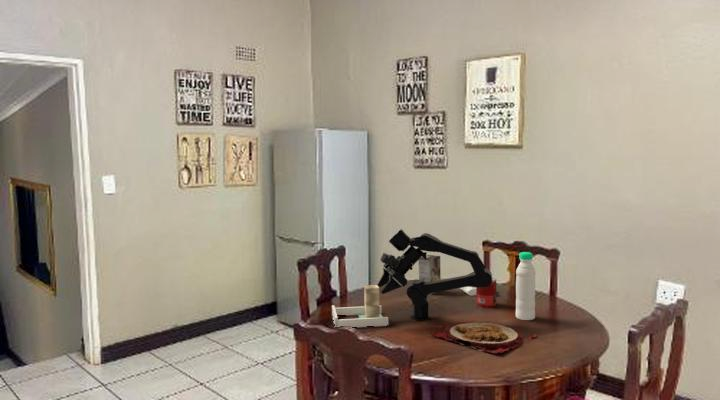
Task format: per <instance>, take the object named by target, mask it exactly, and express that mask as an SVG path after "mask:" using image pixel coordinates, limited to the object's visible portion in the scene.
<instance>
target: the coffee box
mask: <svg viewBox="0 0 720 400" xmlns="http://www.w3.org/2000/svg"><path fill="white" fill-rule="evenodd" d="M426 258H427V259H424V258H423V257H421V258H420V259H419V260H418V280H420V279H422V278H425V281H426V282H433V281H438V280H442V279H441V277H442V276H441V255H435V254H434V255H433V254H426ZM435 293H437V292H435ZM435 293H431V294H429V296H430V295H434V294H435Z"/></svg>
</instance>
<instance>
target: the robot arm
mask: <svg viewBox="0 0 720 400" xmlns="http://www.w3.org/2000/svg"><path fill="white" fill-rule="evenodd" d="M388 243H390V244H391V245H392V247H394V248H395V250H397V252H404V251H405V252H404V253H402V255H401V256H400V255H398V256H395V255H393V254H387V253H386V252H383V253H382V255H381V257H380V259H379V261H381V263H383V267H382V271H383V272H382V273H383V274H382V276H381V277H380V279H379V281H378V283H377V284H376V285H378V287H379V289H380V288H381V287H383V286H384V287H383V288H382V290H381V292H380V293H381V294H382V295H385V294H386V293H387V294H388V293H389V292H392V291H395V290H397V289H401V288H402V287H405V286H407V285H408V279H407V278H406V274H407V273H408V272H409V271H412V270H413V267H414V265H416V264H417V262H419V259H420V258H421V257H423V258H424V259H427V258H426V256H427V255H428V254H427V253H428V252H430V253H432V252H433V253H441V254H444V255H446V256H451V257H453V258H456V259H459V260H462V261H465V262H469V264H470V266H471V268H472V270H473V272H470V273H468V274H466V275H460V276H455V277H450V278H444V279H441V280H438V281H433V282H426V281H425V278H422V279H420V280H419V279H417V278H416V279H414V281H412V282H410V283H409V286H408V287H407V289H406V295H407V297H408V298H409V299H410V300H411V304H412V309H411V310H412V313H411V314H409V315H408V317H409V318H411V319H414V321H415V320H416V321H418V322H419V321H425V320H430V319H433V317H432V316H431V315H429V302H428V299H429V296H430V294H431V293H433V294H435V292H436V293H439V292H444V291H445V292H446V291H450V290H456V289H459V288H463V287H488V286H490V284H491V283H492V277H493V274H492V271H491V270H489V269H488V268H487V267H486V266H485V264H484V263H483V261H482V259H481V258H480V256H479V253H478V252H477V251H476V250H475V251H474V250H470V249H466V248H463V247H460V246H457V245H455V244H450V243H448V242H445V241H442V240H441V239H439V238H438V237H436V236H434V235H432V234H430V233H426V232H425V233H422V234H421V235H419V236H416V237H410V236H409V235H407V233H405V231H404V230H403V229H402V228H400V229H399V230H398V231H397V233H395V234H394V235H393V236H392V237H391V238H390V239H389V240H388ZM415 247H416V248H415ZM431 295H432V294H431Z"/></svg>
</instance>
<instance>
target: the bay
mask: <svg viewBox="0 0 720 400" xmlns="http://www.w3.org/2000/svg"><path fill="white" fill-rule="evenodd" d="M382 306H383V305H380V304H379V309H380V317H376V318H365V305H364V306H363V305H362V306H347V307H343V306H342V307H336V306H335V305H331V317H332V316H333V317H332V321H333V320H334V321H333V325H334V324H335V326H334V328H335V327H340V326H351V327H357V328H368V327H367V326H374V327H388V326H389V316H383V315H382V313H383V312H382ZM337 315H346V316H357V317H358V316H359V317H358V318H344V319H341V318H340V319H338V318H339V316H337ZM387 325H388V326H387Z"/></svg>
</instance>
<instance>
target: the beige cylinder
mask: <svg viewBox="0 0 720 400" xmlns="http://www.w3.org/2000/svg"><path fill="white" fill-rule="evenodd" d="M363 287H364V288H363V291H364V292H363V296H364V301H363V302H364V306H365V318H376V317H380V309H379V306H380V288H379V287H378V285H377V284H368V285H367V284H365V285H364V286H363Z"/></svg>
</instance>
